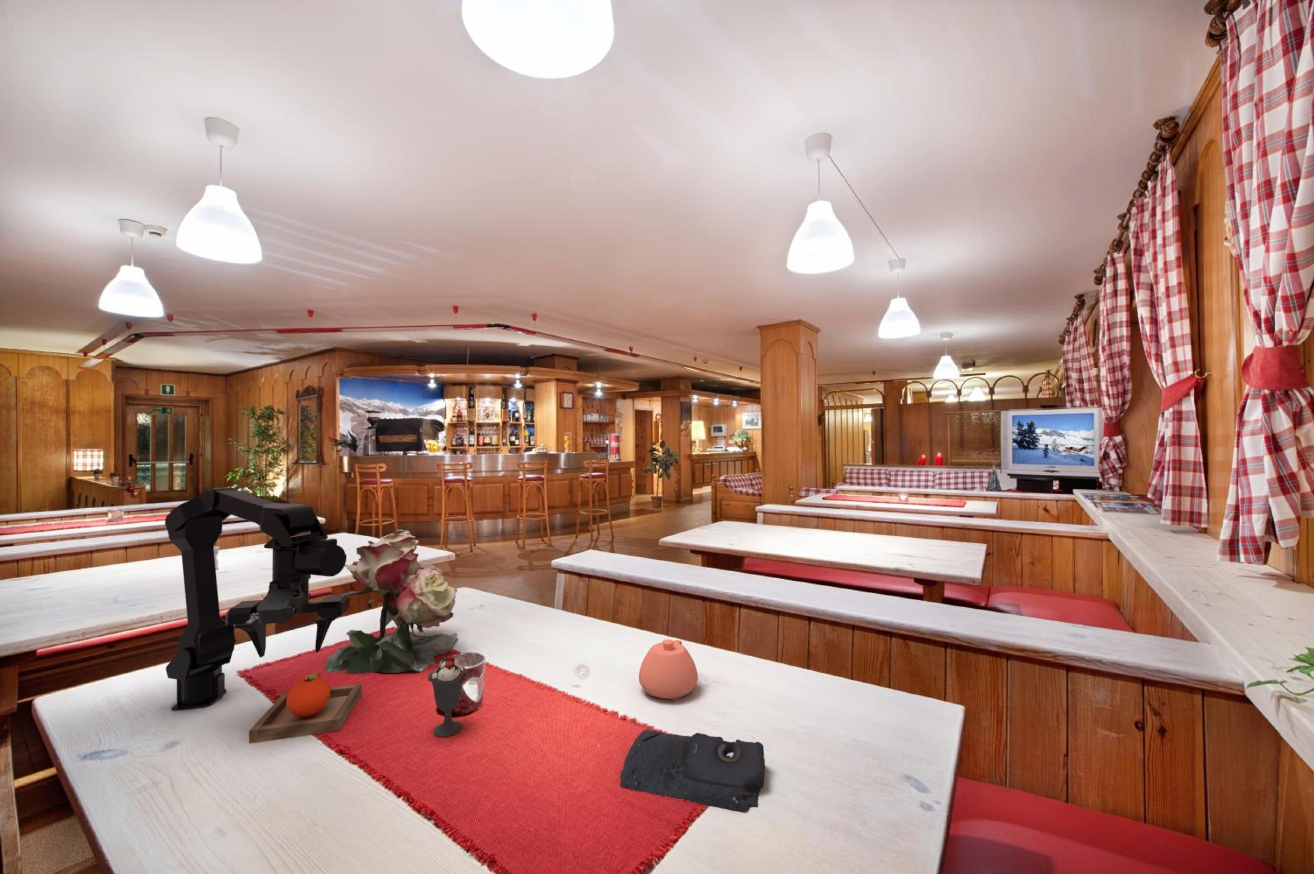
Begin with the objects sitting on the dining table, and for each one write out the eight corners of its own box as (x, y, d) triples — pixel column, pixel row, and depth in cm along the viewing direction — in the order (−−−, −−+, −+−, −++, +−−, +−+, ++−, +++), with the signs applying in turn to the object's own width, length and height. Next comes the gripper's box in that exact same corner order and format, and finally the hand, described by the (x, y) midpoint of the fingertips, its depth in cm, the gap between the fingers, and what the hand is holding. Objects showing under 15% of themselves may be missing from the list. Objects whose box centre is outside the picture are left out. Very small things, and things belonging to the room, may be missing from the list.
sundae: (454, 741, 90) (454, 655, 91) (420, 737, 92) (419, 652, 92) (475, 721, 97) (474, 640, 97) (442, 717, 98) (442, 638, 98)
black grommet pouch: (643, 735, 93) (642, 708, 93) (769, 755, 87) (768, 726, 87) (611, 790, 78) (611, 759, 78) (760, 820, 72) (760, 785, 72)
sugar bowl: (629, 698, 105) (628, 647, 105) (655, 669, 118) (655, 624, 118) (686, 709, 101) (686, 656, 101) (707, 678, 114) (707, 631, 114)
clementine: (302, 704, 103) (302, 667, 103) (339, 701, 104) (339, 665, 104) (277, 726, 95) (277, 686, 95) (318, 723, 96) (318, 684, 96)
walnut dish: (249, 742, 91) (249, 730, 91) (283, 703, 104) (283, 693, 104) (339, 730, 94) (339, 718, 94) (361, 694, 108) (361, 684, 108)
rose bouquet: (441, 674, 117) (440, 540, 117) (311, 674, 117) (311, 541, 117) (480, 632, 142) (480, 522, 143) (374, 632, 143) (374, 523, 143)
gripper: (208, 587, 89) (207, 678, 89) (332, 580, 94) (331, 666, 94) (241, 571, 100) (240, 652, 100) (350, 565, 105) (350, 643, 105)
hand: (290, 653), depth 99 cm, fingers open, 9 cm apart
